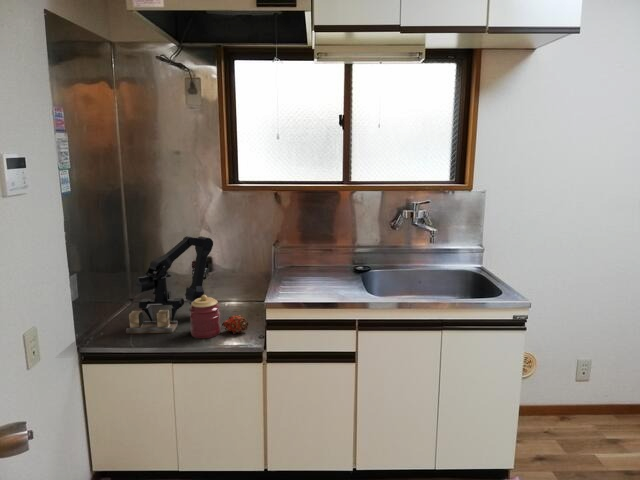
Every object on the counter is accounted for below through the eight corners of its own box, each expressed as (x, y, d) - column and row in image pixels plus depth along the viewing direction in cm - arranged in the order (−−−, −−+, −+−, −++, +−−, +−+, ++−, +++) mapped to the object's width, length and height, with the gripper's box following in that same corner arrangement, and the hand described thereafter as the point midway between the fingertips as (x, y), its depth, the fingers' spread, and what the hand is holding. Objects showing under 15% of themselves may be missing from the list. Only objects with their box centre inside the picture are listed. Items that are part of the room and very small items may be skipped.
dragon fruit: (250, 337, 199) (224, 339, 201) (252, 320, 205) (227, 323, 207) (244, 326, 193) (217, 329, 195) (246, 310, 199) (221, 312, 201)
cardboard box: (169, 324, 207) (168, 309, 206) (166, 328, 202) (165, 313, 201) (159, 324, 207) (158, 310, 205) (156, 328, 202) (155, 313, 200)
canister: (225, 328, 205) (224, 291, 201) (213, 340, 192) (211, 300, 189) (199, 326, 207) (197, 289, 204) (185, 337, 195) (182, 298, 191)
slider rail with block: (177, 325, 209) (176, 308, 208) (172, 332, 200) (171, 315, 199) (133, 325, 208) (132, 309, 207) (126, 333, 199) (124, 316, 198)
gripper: (185, 282, 209) (187, 314, 212) (144, 283, 208) (147, 315, 211) (179, 289, 198) (182, 323, 201) (136, 290, 197) (139, 324, 200)
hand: (162, 321), depth 204 cm, fingers open, 9 cm apart
